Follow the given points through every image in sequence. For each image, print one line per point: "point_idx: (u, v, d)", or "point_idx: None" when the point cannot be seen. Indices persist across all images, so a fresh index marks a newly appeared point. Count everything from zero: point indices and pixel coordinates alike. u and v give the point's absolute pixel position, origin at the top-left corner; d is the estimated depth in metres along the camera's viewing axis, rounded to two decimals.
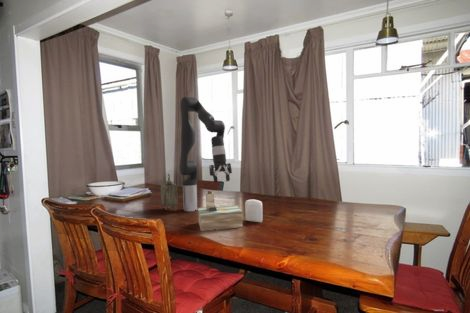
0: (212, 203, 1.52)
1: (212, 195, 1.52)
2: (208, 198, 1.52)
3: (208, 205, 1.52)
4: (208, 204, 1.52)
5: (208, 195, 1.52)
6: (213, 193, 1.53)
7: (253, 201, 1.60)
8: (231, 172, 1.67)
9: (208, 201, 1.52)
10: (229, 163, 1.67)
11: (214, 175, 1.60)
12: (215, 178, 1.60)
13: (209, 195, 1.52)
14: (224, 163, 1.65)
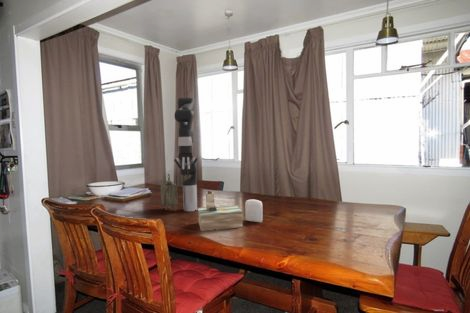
0: (212, 203, 1.52)
1: (212, 195, 1.52)
2: (208, 198, 1.52)
3: (208, 205, 1.52)
4: (208, 204, 1.52)
5: (208, 195, 1.52)
6: (213, 193, 1.53)
7: (253, 201, 1.60)
8: (192, 167, 1.60)
9: (208, 201, 1.52)
10: (196, 158, 1.60)
11: None
12: (183, 171, 1.59)
13: (209, 195, 1.52)
14: (191, 154, 1.60)
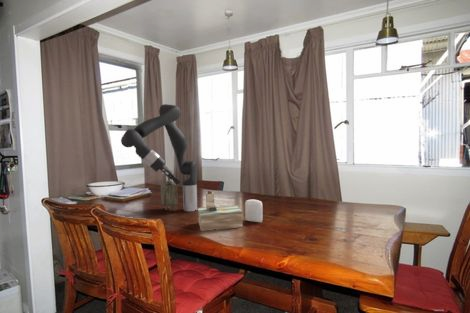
0: (212, 203, 1.52)
1: (212, 195, 1.52)
2: (208, 198, 1.52)
3: (208, 205, 1.52)
4: (208, 204, 1.52)
5: (208, 195, 1.52)
6: (213, 193, 1.53)
7: (253, 201, 1.60)
8: None
9: (208, 201, 1.52)
10: (164, 173, 1.43)
11: None
12: None
13: (209, 195, 1.52)
14: (160, 169, 1.45)
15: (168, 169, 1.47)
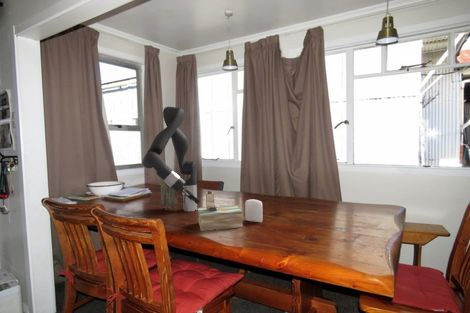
0: (212, 203, 1.52)
1: (212, 195, 1.52)
2: (208, 198, 1.52)
3: (208, 205, 1.52)
4: (208, 204, 1.52)
5: (208, 195, 1.52)
6: (213, 193, 1.53)
7: (253, 201, 1.60)
8: (190, 199, 1.49)
9: (208, 201, 1.52)
10: (184, 194, 1.45)
11: None
12: None
13: (209, 195, 1.52)
14: None
15: (188, 189, 1.50)
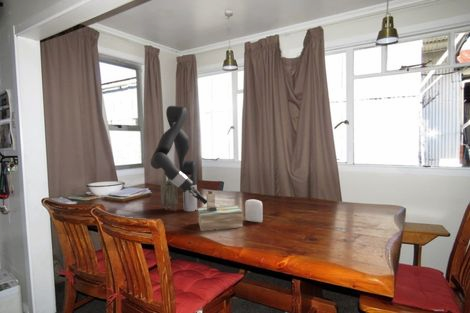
0: (213, 203, 1.52)
1: (213, 195, 1.52)
2: (209, 198, 1.52)
3: (209, 205, 1.52)
4: (209, 204, 1.52)
5: (209, 195, 1.52)
6: (213, 193, 1.53)
7: (253, 201, 1.60)
8: (198, 199, 1.50)
9: (209, 201, 1.52)
10: (192, 195, 1.46)
11: None
12: None
13: (210, 195, 1.52)
14: (188, 190, 1.48)
15: (196, 190, 1.50)
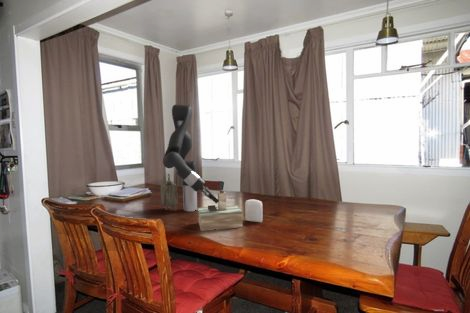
0: (224, 202, 1.54)
1: (224, 194, 1.53)
2: (220, 197, 1.53)
3: (220, 204, 1.53)
4: (220, 203, 1.53)
5: (220, 194, 1.53)
6: (225, 192, 1.55)
7: (253, 201, 1.60)
8: None
9: (220, 200, 1.53)
10: (204, 194, 1.47)
11: None
12: None
13: (221, 194, 1.53)
14: None
15: (208, 189, 1.52)
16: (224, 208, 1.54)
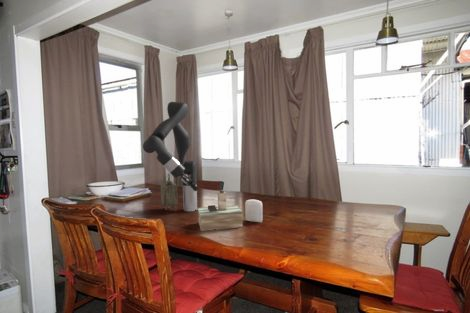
0: (224, 202, 1.54)
1: (224, 194, 1.53)
2: (220, 197, 1.53)
3: (220, 204, 1.53)
4: (220, 203, 1.53)
5: (220, 194, 1.53)
6: (225, 192, 1.55)
7: (253, 201, 1.60)
8: (189, 186, 1.50)
9: (220, 200, 1.53)
10: (184, 180, 1.46)
11: None
12: None
13: (221, 194, 1.53)
14: (180, 176, 1.48)
15: (187, 176, 1.51)
16: (224, 208, 1.54)
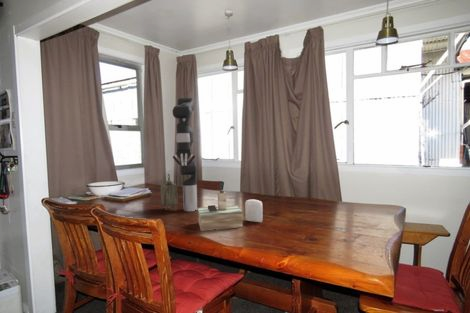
0: (224, 202, 1.54)
1: (224, 194, 1.53)
2: (220, 197, 1.53)
3: (220, 204, 1.53)
4: (220, 203, 1.53)
5: (220, 194, 1.53)
6: (225, 192, 1.55)
7: (253, 201, 1.60)
8: (188, 163, 1.59)
9: (220, 200, 1.53)
10: None
11: (181, 164, 1.59)
12: (182, 167, 1.59)
13: (221, 194, 1.53)
14: (189, 151, 1.59)
15: None
16: (224, 208, 1.54)
